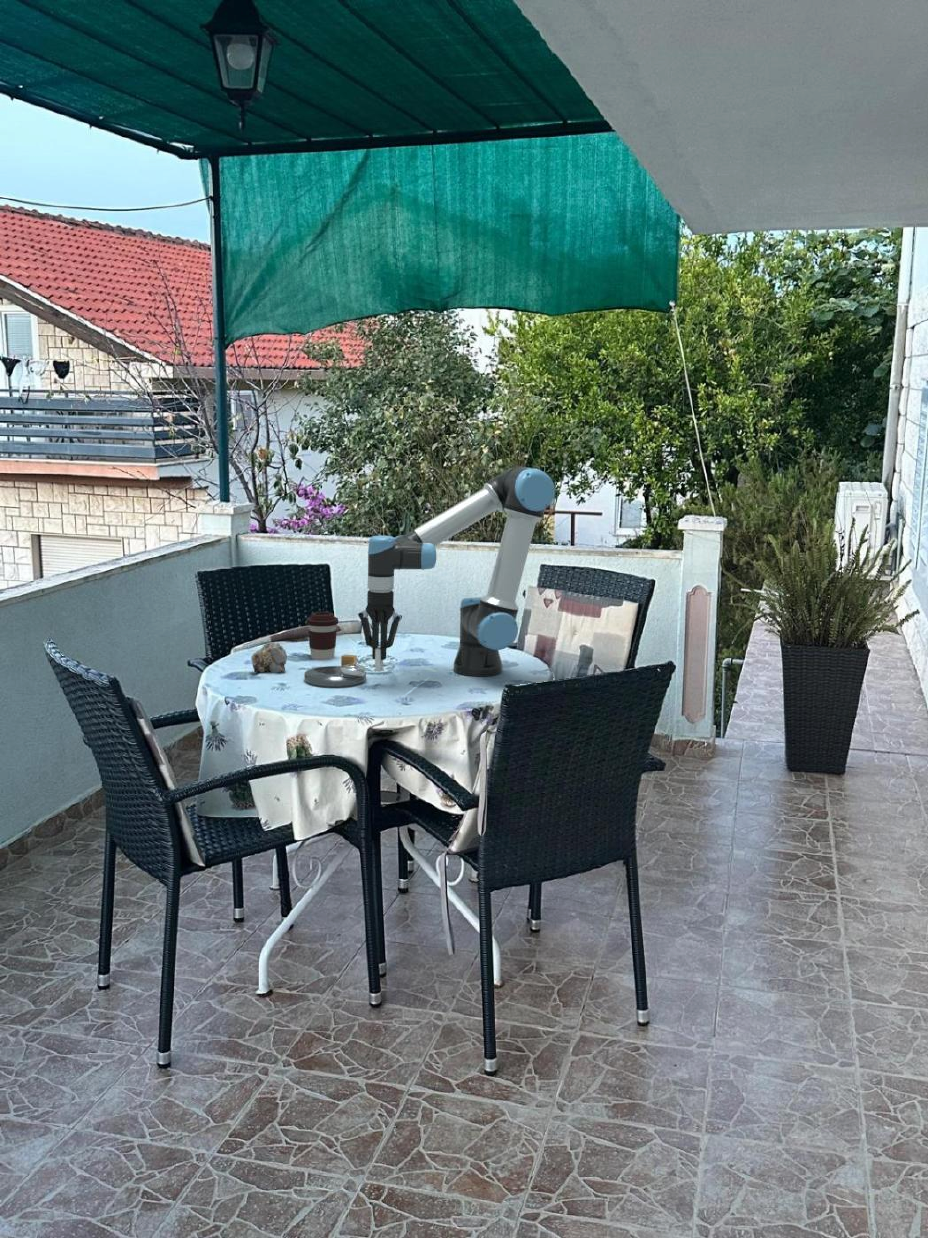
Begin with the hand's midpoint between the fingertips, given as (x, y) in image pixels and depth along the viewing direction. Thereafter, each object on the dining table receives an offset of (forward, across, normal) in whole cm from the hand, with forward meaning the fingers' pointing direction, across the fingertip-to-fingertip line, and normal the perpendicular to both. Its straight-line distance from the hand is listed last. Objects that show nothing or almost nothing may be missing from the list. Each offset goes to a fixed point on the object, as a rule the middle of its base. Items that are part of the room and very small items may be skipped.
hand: (378, 670), depth 337 cm
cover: (+2, +8, 0) cm, 9 cm away
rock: (+6, +37, -4) cm, 37 cm away
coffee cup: (+6, +29, -25) cm, 39 cm away
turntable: (+4, +14, -2) cm, 15 cm away
